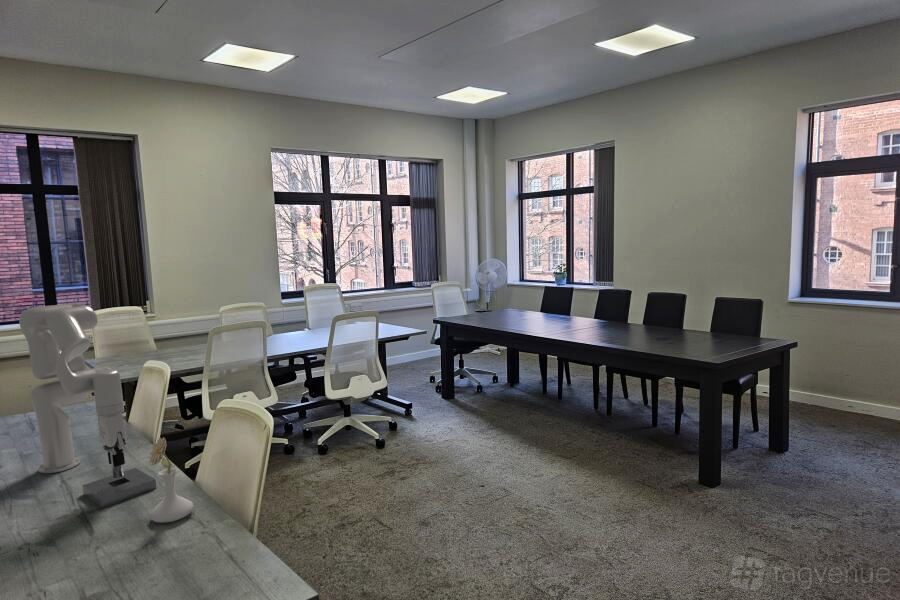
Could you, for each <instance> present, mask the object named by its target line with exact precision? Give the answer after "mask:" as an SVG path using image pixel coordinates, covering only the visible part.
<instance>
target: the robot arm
mask: <svg viewBox="0 0 900 600" xmlns="http://www.w3.org/2000/svg"><path fill="white" fill-rule="evenodd" d="M18 321H19V327H20V329H21V332H22V334H23V336H24V337H25V339H26V341H27V345H28V351H29V359H30V364H31V365H30V366H31V370H32V374H33V377H34V378H35V379H36V380H40V381H41V380H51V379H55V378H57V380H53V381H49V382H44V383H41V384H38V385H36V386H35V387H33V388H32V390H31V391H30V395H29V397H30V402H31V404H32V408H33V409H34V414H35V418H36V422H37V430H38V437H39V445H40V451H41V459H42V464H41V465H40V466H39V467H38V469H37V470H38V472H39V473H40V474H53V473H55V474H56V473H60V472H64V471H67V470H70V469H72V468H75V467H76V466H78V465H79V464H80V463H81V458H80V457H78V456H76V455H75V449H74V442H73V440H74V439H73V434H72V428H71V425H72V424H71V418H70V416H69V414H68V413H66V412H65V411H64V410H62V409H61V407H64V406H65V407H66V406H68V405H72V404H75V403H80V402H82V401H85V400H86V399H87V398H88V396H89V394H91V393H93V394H94V403H95V410H96V417H98V418H97V421H98V423H97V424H98V439H99V442H100V443H101V444H103V445H106V446H108V447H112V449H113V455H112V458H113V466H114V467H117V466H120V465H123V466H124V465H125V463H126V461H125V450H124V449H125V448H126V447H125V446H126V445H124V443H125V442H126V443H127V434H126V433H127V432H126V427H125V425H126V424H125V421H124V420H125V419H124V415H123V413H125V404H124V399H123V398H124V396H123V388H122V380H121V379H122V378H121V373H120V372H119V371H118V370H116V369H112V368H111V367H109V366H99V367H94V368H89V369H87V367H86V366H87V365H86V360H85V357H84V353H85V352H86V351H88V349H89V348H90V347H91V340H90V337H88V334H87V333H86V331H87V330H92V329H94V328H95V327H97V325H98V316H97V313H96V312H95V310H94V309H93V308H91V306H88V305H87V304H86V305H85V304H81V303H79V304H78V303H62V304H55V305H53V304H52V305H43V306H37V307H31V308H28V309H27V308H26V309H25V310H23V311H22V312H20V315H19V320H18ZM117 442H118V444H115V443H117ZM117 446H118V447H117ZM115 447H117V448H115ZM106 452H107V457H108V459H107V460H108V464H109V465H112V464H111V456H110V449H109V450H106Z"/></svg>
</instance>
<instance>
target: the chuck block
mask: <svg viewBox="0 0 900 600" xmlns="http://www.w3.org/2000/svg"><path fill="white" fill-rule="evenodd" d="M123 472H124V475H123V476H122V477H119V478H113V474H112V475H109V476H106V477H103V478H100V479H97V480H95V481H91V482H88V483H86V484H82V492H83V493H82V494H83V495H84V496H85V497H87V498H88V499H89V500H90V501H92V502H94V503H95V504H96V505H97V506H99V507H100V508H101V509H102V508H105V507H108V506H111V505H115V504H116V503H120V502H123V501H126V500H128V499H130V498H132V497H135V496H139V495H140V494H144V493H146V491H147V492H149V491H152V490H155V489H156V488H157V480H156V478H154V477H153V476H151V475H149V474H147V473H146V472H144V471H142V470H140V469H139V468H137V467H134V468H131V469H127V470H123ZM154 488H155V489H154Z"/></svg>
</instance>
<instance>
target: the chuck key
mask: <svg viewBox="0 0 900 600" xmlns="http://www.w3.org/2000/svg"><path fill="white" fill-rule="evenodd" d="M115 444H118V442H117V443H115ZM126 445H127V441H126V442H125V443H124V446H126ZM117 447H118V446H117ZM117 447H115V448H117ZM102 449H103V450H104V451H106V452H107V450H109V449H110V456H111V464H110V465H111V471H112V475H113V478H119V477H122V476H123V475H124V464H123V465H120V466H117V467H114V466H113V458H112V455H113V449H112V447H108V446H106V445H105V444H103V447H102Z"/></svg>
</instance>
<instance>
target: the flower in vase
mask: <svg viewBox="0 0 900 600" xmlns="http://www.w3.org/2000/svg"><path fill="white" fill-rule="evenodd" d="M167 445H168V444H167V440H166V438H165V437H159V438H158V439H157V440H156V442H153V446H152V451H150V453H149V456H150V458H149V463H150V465H151V466H152V467H153V466H155V465H158V464H159V463H161V465H162V466H163V467H165V469H162V470H161V471H159V472H158V476H160V478H161V479H162V480H163V483H164V487H165V496H164V498H163V499H162V500H161V501H160V502H159V503H158V504H157V505H156V506H155V507H154V508H153V509H152V511H151V512H150V519H151V520H152V521H153V522H155V523H160V524H161V523H170V522H176V521H178V520H182V519H183V518H185V517H186V516H189V515H190V514H191V513H192V511H193V510H194V507H195V505H194V503H193V501H191V500H189V499H187V498H186V497H183V496H180V495H178V494H177V493H176V490H175V477H176V474H177V472H178V471H179V469H178V468H176V467H172V463H171V462H170V459H169V458H168V456H167V455H166V450H167Z"/></svg>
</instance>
